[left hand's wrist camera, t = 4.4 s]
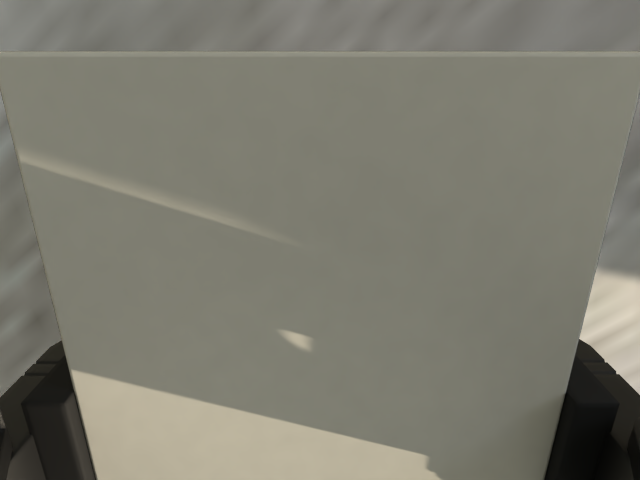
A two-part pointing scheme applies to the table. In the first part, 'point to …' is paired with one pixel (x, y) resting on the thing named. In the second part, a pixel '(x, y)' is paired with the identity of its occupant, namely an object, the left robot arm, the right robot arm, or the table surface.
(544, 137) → the thick board
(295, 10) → the table surface
